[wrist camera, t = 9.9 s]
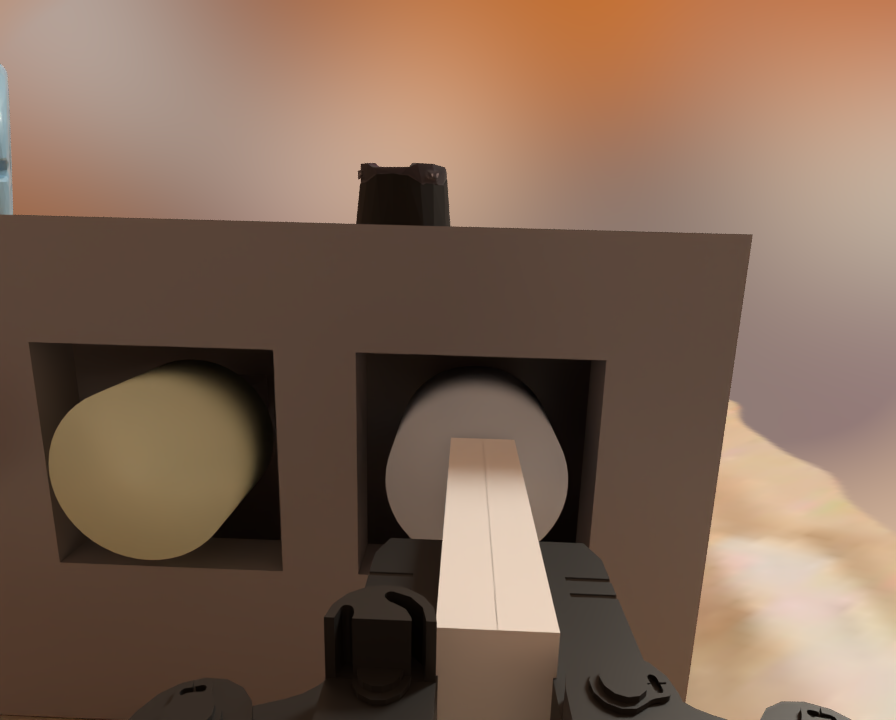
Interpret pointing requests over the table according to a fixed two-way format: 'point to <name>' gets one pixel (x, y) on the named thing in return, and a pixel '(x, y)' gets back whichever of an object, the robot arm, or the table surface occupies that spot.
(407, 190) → the portable speaker
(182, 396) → the sage button
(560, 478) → the grey rounded knob
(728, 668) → the table surface
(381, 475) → the console
